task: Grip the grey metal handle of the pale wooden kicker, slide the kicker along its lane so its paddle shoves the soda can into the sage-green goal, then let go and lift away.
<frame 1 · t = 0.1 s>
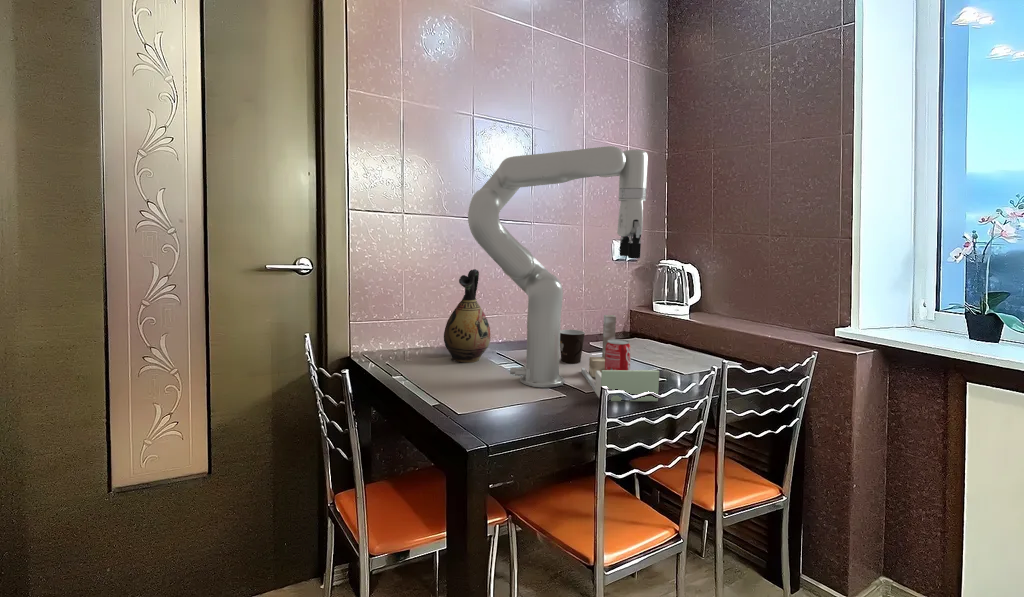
hand: (629, 257, 161), 37 cm above the table, tool pointing down, fingers open, 9 cm apart
coffee mug: (570, 363, 188), on the table
kicker: (609, 345, 172), point 9 cm above the table, slide at 0.0 cm
ceramic jug: (467, 359, 190), on the table
soda can: (616, 386, 162), resting in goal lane
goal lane: (613, 382, 166), on the table
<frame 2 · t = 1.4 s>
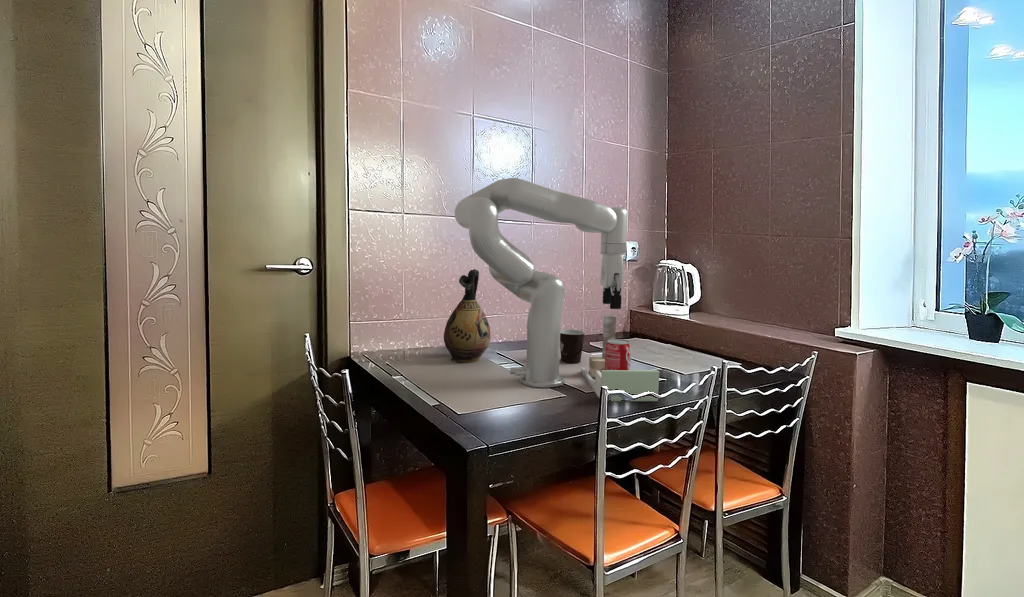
hand: (611, 306, 171), 21 cm above the table, tool pointing down, fingers open, 9 cm apart
nothing on the table moved.
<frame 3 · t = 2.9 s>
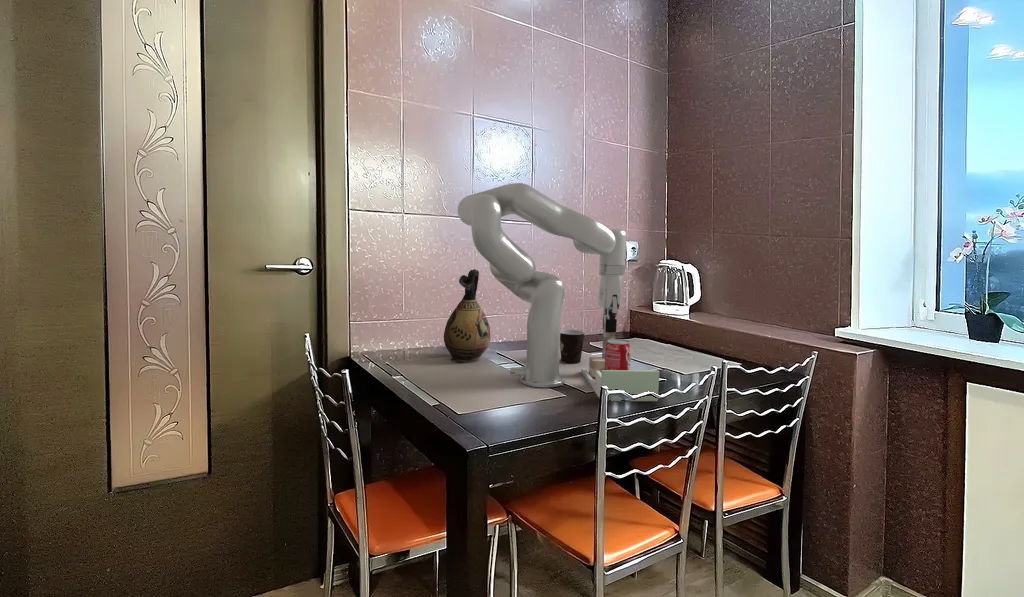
hand: (609, 330, 172), 14 cm above the table, tool pointing down, fingers closed on kicker, 3 cm apart
kicker: (609, 345, 172), point 9 cm above the table, slide at 0.0 cm, touching gripper
everything else where it was.
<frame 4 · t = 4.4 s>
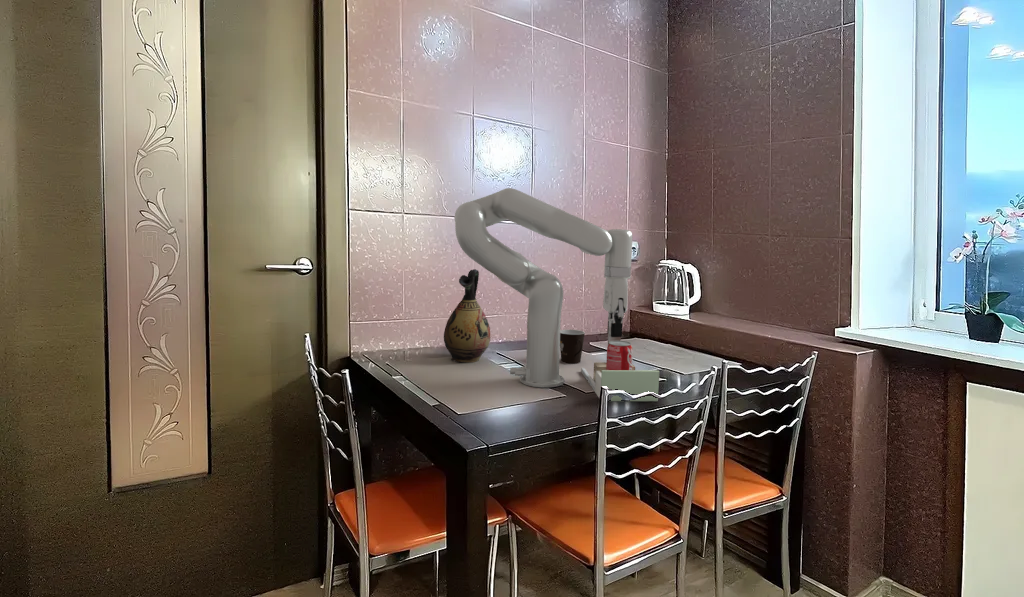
hand: (614, 334, 166), 14 cm above the table, tool pointing down, fingers closed on kicker, 3 cm apart
kicker: (614, 351, 165), point 9 cm above the table, slide at 6.7 cm, touching gripper, soda can
soda can: (618, 388, 160), resting in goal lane, touching kicker
everything else where it was.
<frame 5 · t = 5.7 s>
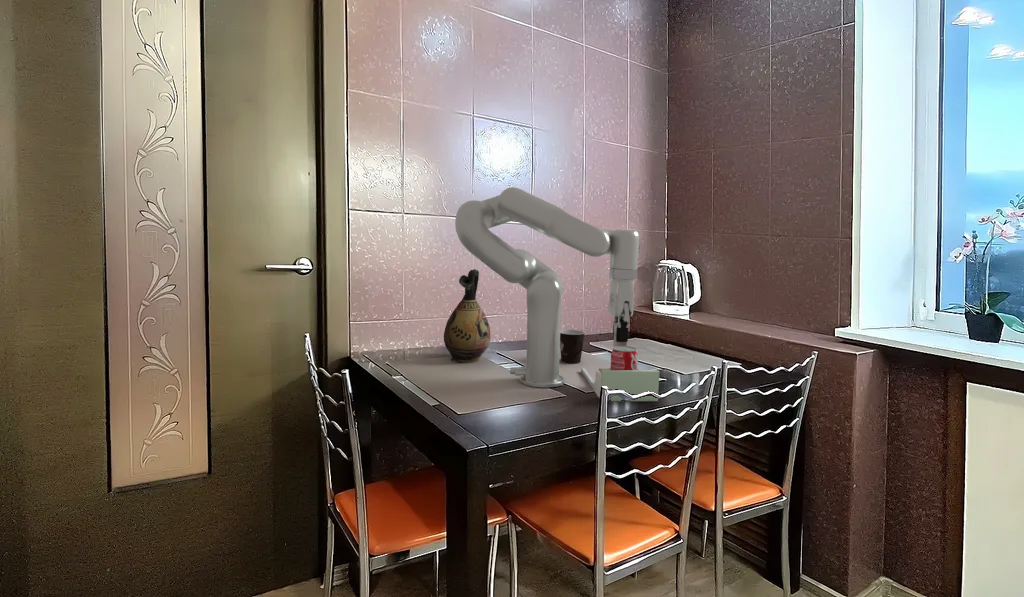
hand: (620, 339, 159), 14 cm above the table, tool pointing down, fingers closed on kicker, 3 cm apart
kicker: (620, 356, 158), point 9 cm above the table, slide at 13.4 cm, touching gripper, soda can
soda can: (622, 395, 153), resting in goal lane, touching kicker
everything else where it was.
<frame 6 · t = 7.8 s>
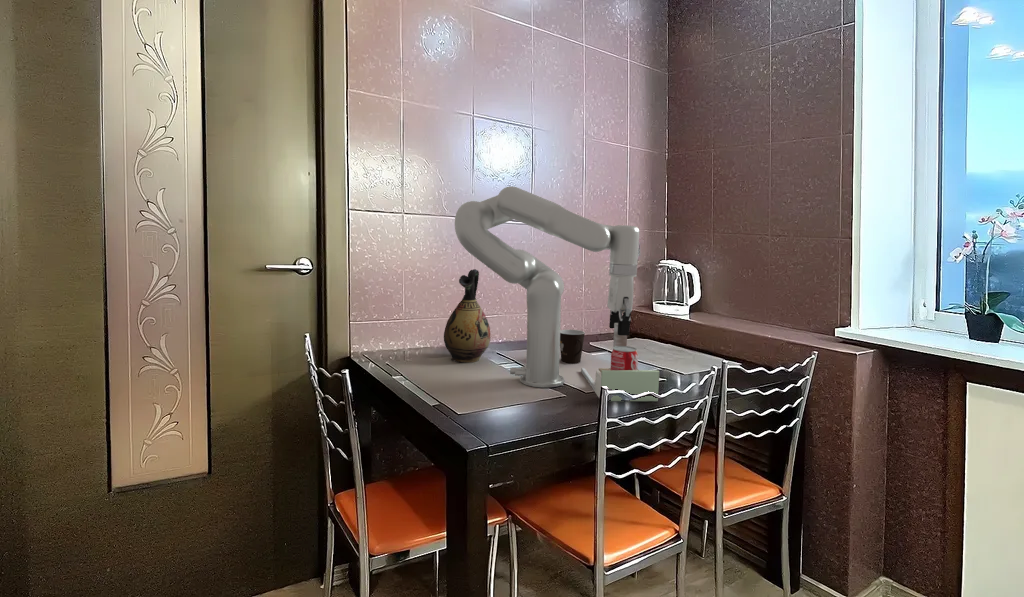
hand: (619, 331, 159), 16 cm above the table, tool pointing down, fingers open, 9 cm apart
kicker: (620, 356, 158), point 9 cm above the table, slide at 13.5 cm
soda can: (622, 396, 153), resting in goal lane
everything else where it was.
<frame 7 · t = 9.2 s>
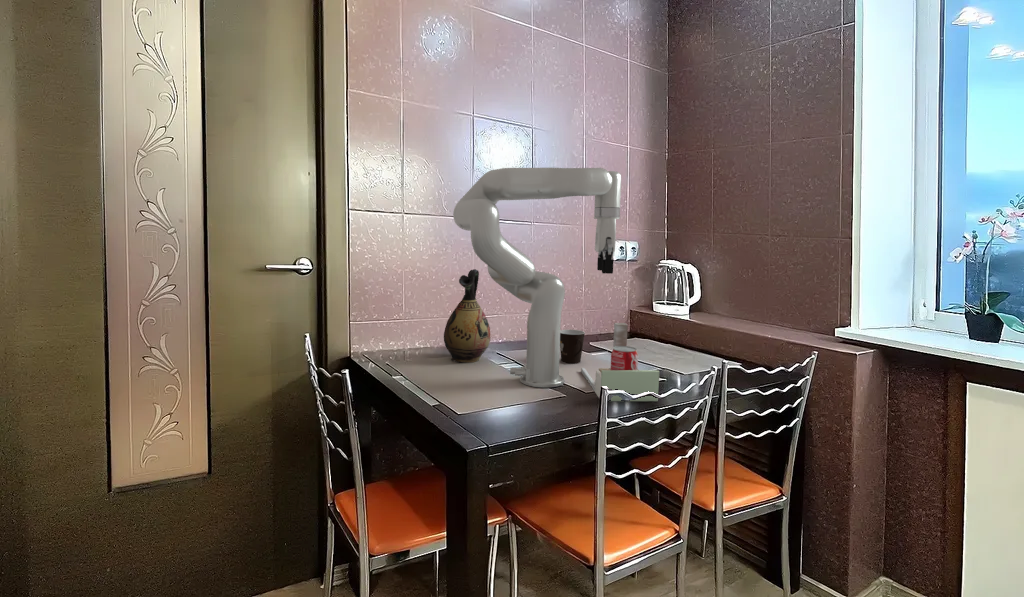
hand: (604, 271, 170), 31 cm above the table, tool pointing down, fingers open, 9 cm apart
nothing on the table moved.
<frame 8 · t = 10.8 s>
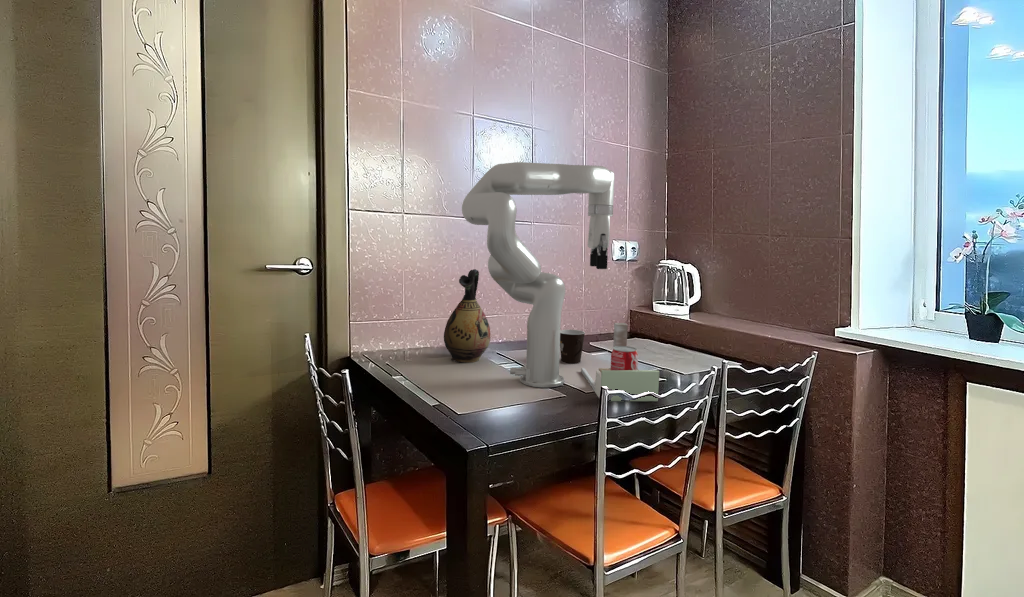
hand: (598, 267, 175), 32 cm above the table, tool pointing down, fingers open, 9 cm apart
nothing on the table moved.
at the end: soda can inside the target area (0.6 cm from its centre), resting in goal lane; soda can tilted 0°; kicker slide at 13.5 cm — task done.
